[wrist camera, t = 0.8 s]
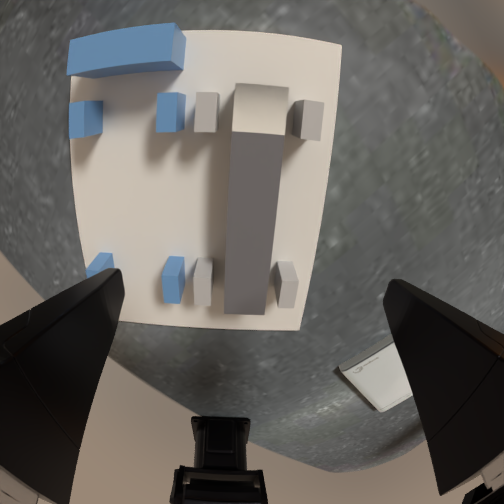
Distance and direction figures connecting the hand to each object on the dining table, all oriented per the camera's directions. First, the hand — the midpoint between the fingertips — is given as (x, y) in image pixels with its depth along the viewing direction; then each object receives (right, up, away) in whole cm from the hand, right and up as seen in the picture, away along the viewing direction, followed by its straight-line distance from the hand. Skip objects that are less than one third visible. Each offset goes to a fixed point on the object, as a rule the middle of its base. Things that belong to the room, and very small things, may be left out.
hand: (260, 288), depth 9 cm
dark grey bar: (0, +4, +8) cm, 9 cm away
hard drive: (+15, -11, +18) cm, 26 cm away
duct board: (-4, +4, +8) cm, 10 cm away
